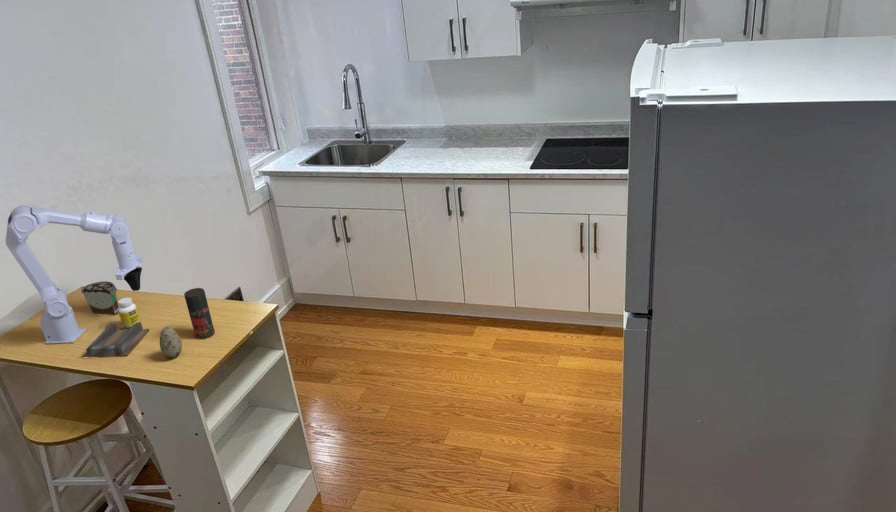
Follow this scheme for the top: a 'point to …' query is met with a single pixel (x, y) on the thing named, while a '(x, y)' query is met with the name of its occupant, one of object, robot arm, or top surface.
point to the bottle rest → (116, 341)
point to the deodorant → (199, 313)
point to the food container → (101, 298)
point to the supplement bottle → (128, 313)
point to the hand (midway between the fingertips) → (136, 289)
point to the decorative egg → (170, 342)
